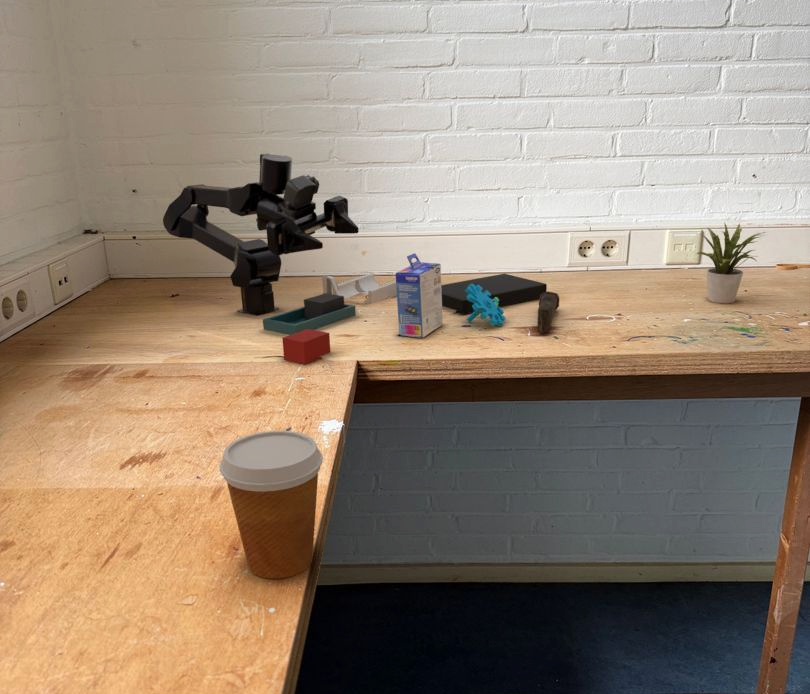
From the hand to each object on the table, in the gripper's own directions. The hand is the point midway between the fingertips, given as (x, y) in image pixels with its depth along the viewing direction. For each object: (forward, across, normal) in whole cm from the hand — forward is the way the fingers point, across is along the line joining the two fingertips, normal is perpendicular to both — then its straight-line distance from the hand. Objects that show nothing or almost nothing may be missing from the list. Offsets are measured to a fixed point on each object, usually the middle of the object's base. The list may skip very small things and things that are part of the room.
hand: (340, 238), depth 146 cm
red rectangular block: (+9, -17, +14) cm, 24 cm away
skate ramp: (-13, +21, +25) cm, 35 cm away
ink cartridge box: (+14, +7, +17) cm, 23 cm away
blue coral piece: (+21, +19, +18) cm, 33 cm away
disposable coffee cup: (+54, -61, -3) cm, 81 cm away
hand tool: (+30, +26, +17) cm, 44 cm away
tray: (-6, -3, +20) cm, 21 cm away
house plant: (+52, +61, +18) cm, 82 cm away
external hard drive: (+10, +33, +22) cm, 41 cm away
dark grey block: (-6, +1, +20) cm, 21 cm away
